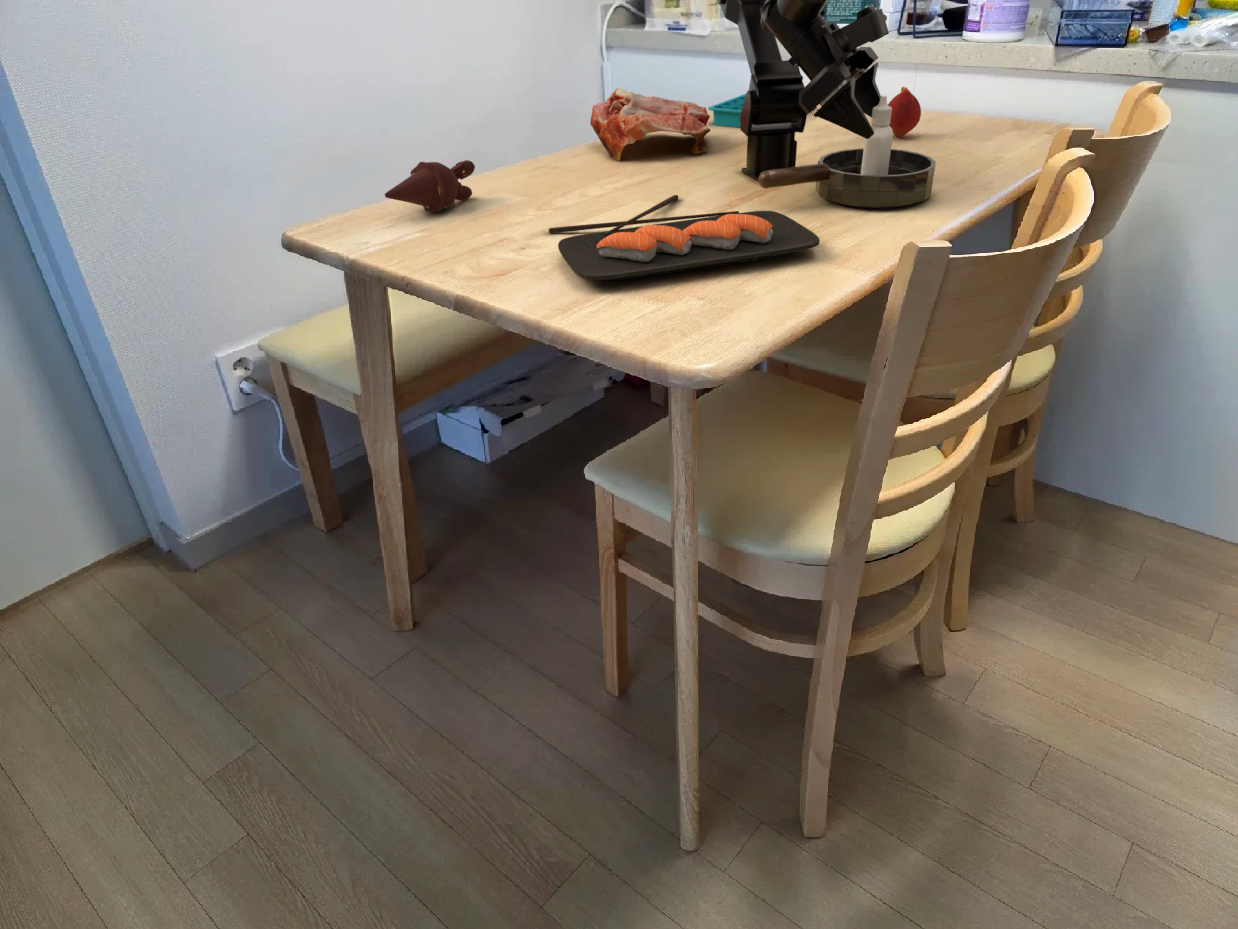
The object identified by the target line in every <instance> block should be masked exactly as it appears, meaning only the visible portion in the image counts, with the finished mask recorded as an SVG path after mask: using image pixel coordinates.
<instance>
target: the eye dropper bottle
mask: <svg viewBox="0 0 1238 929" xmlns="http://www.w3.org/2000/svg"><path fill="white" fill-rule="evenodd" d="M887 98H888V97H887V95H881V98H880V101H879V104H878V105H877V106H875V107H873V110H872V118H871V120H870V125H871V127H872V129H873V131H874V135H873V136H871V137H870V138H869V139H866V138H864V142H863V148H864V149H863V158H862V167H861V174H862V175H888V168H889V161H890V153H891V149H892V144H893V137H894V133H893V130H892V128H891V127H890V126H889V124H890V120H891V112H892V108H891V107H890V106H888V99H887Z"/></svg>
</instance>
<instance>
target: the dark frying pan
mask: <svg viewBox="0 0 1238 929" xmlns="http://www.w3.org/2000/svg"><path fill="white" fill-rule="evenodd" d="M863 149H864V147H862V148H849V149H842V150H837V151H833V152H829V153H827V154H825V155H822V156H821V157H819V160H818V161H817V164H822V163H823V164H826V165H828V166H829V168H830V169H829V175H828V178H827V179H826V180H824V181H817V182H815V192H816V193H817V195H818V196H819V197H821V198H823V199H825V200H827V201H830V202H834V203H836V204H840V205H844V206H848V207H853V208H862V209H890V208H899V207H904V206H909V205H913V204H917V203H919V202H922V201H926V199H928V198H929V197H931V195H932V190H933V184H934V179H935V178H934V177H935V172H936V165H937V161H936V160H935V159H934V158H932V157H931V156H929V155H926V154H924V153H920V152H916V151H910V150H906V149H898V148H891V153H890V161H889V168H888V175H862V174H861V167H862V158H863Z"/></svg>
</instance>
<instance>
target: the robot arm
mask: <svg viewBox="0 0 1238 929" xmlns="http://www.w3.org/2000/svg"><path fill="white" fill-rule="evenodd" d="M716 2H717V4H718V6H719V5H720V8H721V11H722V14H723V17H724V18H725V19H726V20H728V21H729V22H731V23H732V24H735V25H736V26H737V28H738V32H739V34H740V38H741V42H742V45H743V49H744V53H745V57H746V61H747V65H748V68H749V72H750V80H749V86H748V90H747V91H746V93H745V94H746V96H745V100H744V103H743V107H742V110H741V113H740V127H739V128H740V131H741V132H742V133H743V134H744V135H745V136H746V138H747V139H746V140H747V141H746V164H745V165H746V166H745V167H742V168H741V172H742V173H744V174H745V175H747V176H749V177H750V178H752V179H754V180H756V181H758V178H759V175H760V174H761V173H762V172H763V171H767V170H775V169H782V168H790V167H797V165H796V164H797V149H798V141H797V140H796V139H795V138H796V133H799V134H802V133H804V131H805V128H806V123H807V118H808V115H810V114H811V113H813V112H814V111H815V110H816V109H817V107H818V106H820V107H819V108H818V109H817V110H816V111H815V112H814V113H813V114H812V115H813V117H815V118H820V119H822V120H825V121H826V122H829V123H831V124H834V125H836V126H838V127H840V128H843V129H845V130H847V131H849V132H851V133H854V134H855V135H857V136H859V137H862V138H863V139H865V138H866V139H869V138H870V137H871V136H873V135H874V131H873V129H872V127H871V125H872V124H871V122H870V121H869V120H868V118H867V116H868V117H869V118H871V119H872V110H873V107H875V106H877V105H878V104H879V101H880V98H881V96H882V95H881V93H880V90H879V88H878V85H877V83H876V76H877V72H878V68H879V61H877V60H878V59H879V56H878V54H877V53H876V52H875V51H874V50H873V48H872V47H871V46H863V45H865V44H867V43H873V42H876V41H878V40H879V39H882V38H884V37H885V36H888V35H889V34H890V31H889V28H888V24H887V22H886V21H887V20H888V16H887V15H886V14H884V12H883V8H879V9H876V8H875V7H874V6H873V5H868V6H866V7H864V8H862V9H860V10H858V11H857V13H856V20H854V21H853V22H850V23H849V24H846V25H845V26H842V27H839V25H838V24H837V23H836V22H835V21H833V22H832V21H830V22H827V20H825V19H824V17H823V16H822V15H821V13H822V11H823V9H824V7H825V6H826V4H827V3H828V2H829V0H716ZM778 42H779V43H780V44H781V46H782V47H783V48H784V49H785V51H786V52H787V53H788V54H789V56H790V58H789V59H788V60H783V58H782V55H781V51H780V49H779V48H780V47H779V45H778ZM876 61H877V62H876ZM800 69H801V70H800ZM801 71H802V72H803V73H804V74H805V76H806V77H807V78H808V80H809V82H808V83H807V84H806V85H805V83H804V81H803V80H804V76H803V75H802V73H801Z"/></svg>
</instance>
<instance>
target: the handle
mask: <svg viewBox="0 0 1238 929" xmlns="http://www.w3.org/2000/svg"><path fill="white" fill-rule="evenodd" d="M829 169H830V168H829V166H828V165H826V164H823V163H822V164H818V163H815V164H807V165H800V166H798V165H797V166H795V167H790V168H782V169H775V170H767V171H763V172H762V173H761V174H760V175H759V178H758V180H757V181H758V184H759V186H760V187H761V188H763V189H772V188H779V187H786V186H793V185H802V184H808V183H816V182H817V181H824V180H826V179H827V178H828V175H829Z"/></svg>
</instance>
